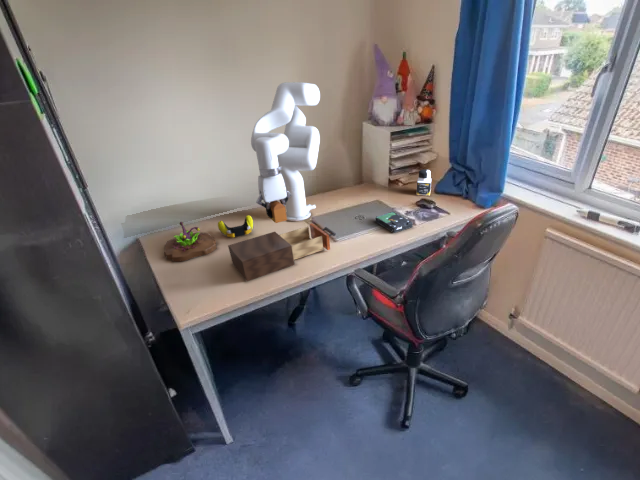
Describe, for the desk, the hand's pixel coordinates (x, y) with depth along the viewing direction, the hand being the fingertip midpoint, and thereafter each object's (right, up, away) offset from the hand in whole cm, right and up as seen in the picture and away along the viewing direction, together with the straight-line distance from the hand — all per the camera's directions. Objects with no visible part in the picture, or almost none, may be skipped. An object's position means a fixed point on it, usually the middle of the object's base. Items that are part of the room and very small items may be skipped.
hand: (276, 215), depth 157 cm
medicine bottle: (+67, +20, +44) cm, 83 cm away
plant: (-36, -14, 0) cm, 38 cm away
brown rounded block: (0, -1, +1) cm, 2 cm away
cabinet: (-2, -21, -12) cm, 25 cm away
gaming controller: (-20, -6, +11) cm, 23 cm away
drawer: (+14, -14, -4) cm, 20 cm away
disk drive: (+49, -2, +14) cm, 51 cm away
